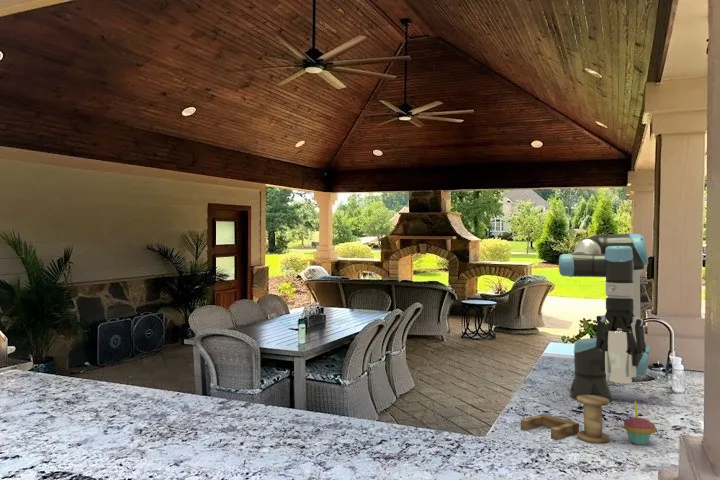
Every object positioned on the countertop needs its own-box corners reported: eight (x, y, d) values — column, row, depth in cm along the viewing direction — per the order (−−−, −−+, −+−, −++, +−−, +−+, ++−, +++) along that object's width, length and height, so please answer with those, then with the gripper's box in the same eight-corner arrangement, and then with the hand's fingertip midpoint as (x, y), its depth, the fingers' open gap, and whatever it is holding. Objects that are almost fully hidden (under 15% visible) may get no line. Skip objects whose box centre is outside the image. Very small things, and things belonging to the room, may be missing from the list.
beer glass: (636, 384, 155) (635, 332, 156) (610, 383, 157) (609, 331, 158) (629, 379, 162) (628, 330, 163) (605, 378, 164) (604, 329, 165)
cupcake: (617, 437, 163) (617, 397, 164) (644, 437, 164) (643, 397, 165) (634, 447, 155) (633, 405, 155) (662, 446, 156) (661, 405, 156)
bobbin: (587, 432, 169) (587, 393, 169) (615, 439, 161) (614, 399, 162) (571, 437, 163) (570, 397, 164) (599, 445, 156) (598, 403, 157)
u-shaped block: (543, 422, 178) (543, 413, 178) (579, 432, 168) (579, 423, 168) (520, 429, 171) (520, 419, 171) (556, 440, 161) (556, 430, 161)
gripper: (582, 296, 167) (583, 370, 165) (646, 299, 151) (647, 382, 150) (595, 295, 171) (596, 368, 170) (659, 298, 155) (660, 379, 154)
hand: (620, 374), depth 160 cm, fingers closed on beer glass, 6 cm apart
